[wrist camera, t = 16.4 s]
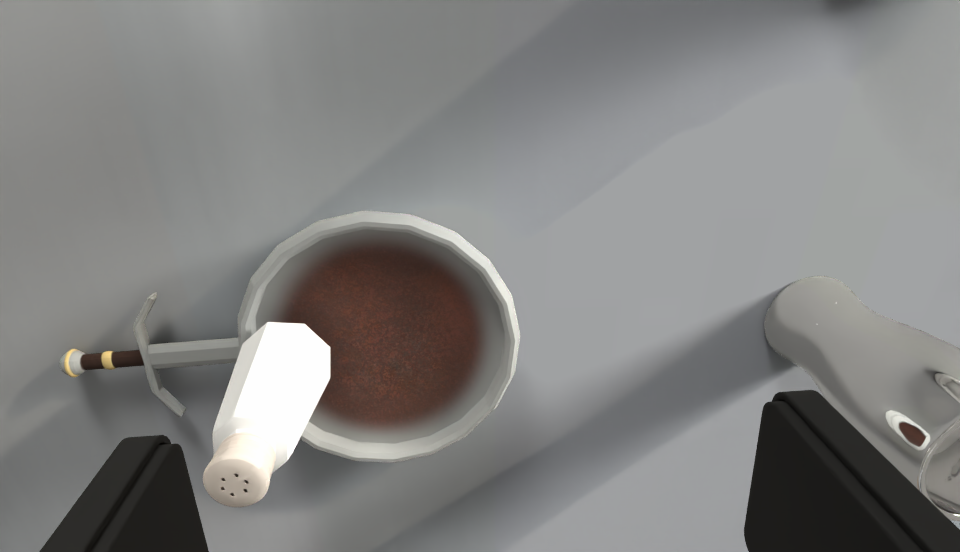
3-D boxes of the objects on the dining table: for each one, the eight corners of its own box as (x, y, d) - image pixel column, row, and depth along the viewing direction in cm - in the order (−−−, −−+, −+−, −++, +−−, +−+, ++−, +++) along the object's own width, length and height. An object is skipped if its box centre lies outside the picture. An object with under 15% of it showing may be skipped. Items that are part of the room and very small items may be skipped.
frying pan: (-2, 239, 34) (517, 205, 35) (31, 223, 37) (512, 191, 38) (89, 492, 41) (526, 459, 41) (111, 462, 43) (521, 432, 44)
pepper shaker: (264, 409, 39) (205, 547, 29) (224, 334, 37) (145, 455, 27) (348, 383, 39) (317, 513, 29) (312, 306, 37) (266, 417, 27)
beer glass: (881, 299, 42) (1102, 438, 28) (811, 379, 44) (984, 545, 30) (804, 250, 40) (999, 372, 26) (735, 335, 42) (882, 491, 29)
